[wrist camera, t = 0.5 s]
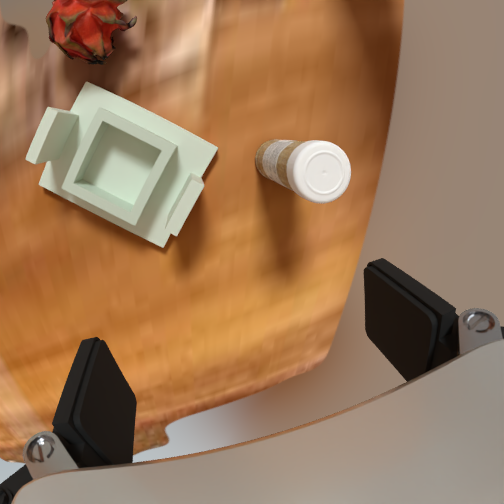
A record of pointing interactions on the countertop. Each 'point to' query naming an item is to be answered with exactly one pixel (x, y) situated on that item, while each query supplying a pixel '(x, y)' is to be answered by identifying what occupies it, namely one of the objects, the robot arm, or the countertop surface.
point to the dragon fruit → (86, 27)
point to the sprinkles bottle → (306, 168)
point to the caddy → (122, 163)
